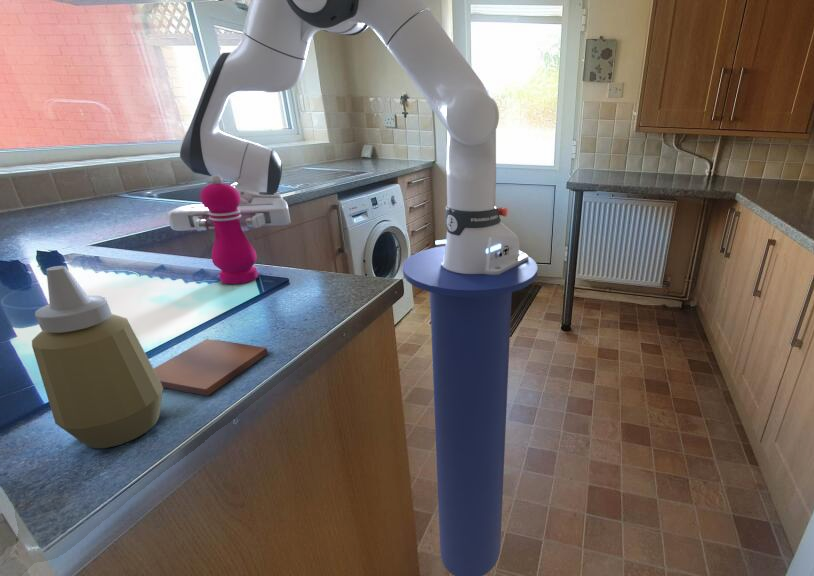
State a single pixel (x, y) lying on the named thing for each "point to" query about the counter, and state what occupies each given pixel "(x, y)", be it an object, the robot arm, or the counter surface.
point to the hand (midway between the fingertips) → (226, 225)
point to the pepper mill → (228, 234)
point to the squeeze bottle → (93, 367)
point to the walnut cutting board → (207, 366)
